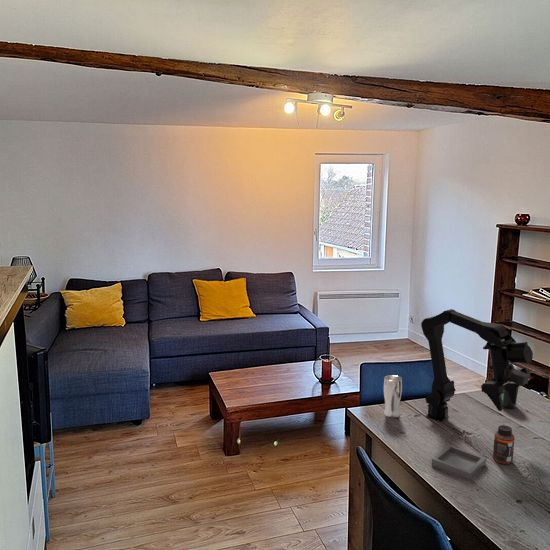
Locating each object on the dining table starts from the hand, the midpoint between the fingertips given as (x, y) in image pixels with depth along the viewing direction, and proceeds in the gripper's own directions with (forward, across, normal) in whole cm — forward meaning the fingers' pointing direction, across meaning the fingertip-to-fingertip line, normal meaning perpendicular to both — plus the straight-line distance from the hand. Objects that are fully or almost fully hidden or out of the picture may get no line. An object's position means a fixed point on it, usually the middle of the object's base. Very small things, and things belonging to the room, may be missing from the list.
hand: (507, 407), depth 173 cm
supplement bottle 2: (+15, -10, -2) cm, 18 cm away
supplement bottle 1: (+10, +31, +18) cm, 37 cm away
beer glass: (+4, -12, +42) cm, 43 cm away
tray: (+13, -25, +5) cm, 28 cm away
